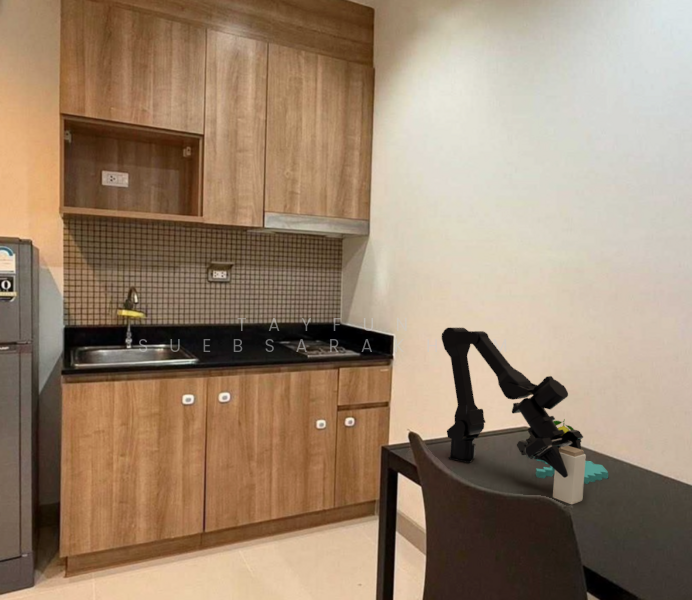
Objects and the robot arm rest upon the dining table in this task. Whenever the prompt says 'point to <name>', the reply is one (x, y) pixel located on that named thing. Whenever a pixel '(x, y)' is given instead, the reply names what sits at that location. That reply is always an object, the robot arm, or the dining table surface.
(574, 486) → the canister
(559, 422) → the lemon
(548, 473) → the alien figure
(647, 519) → the dining table surface
